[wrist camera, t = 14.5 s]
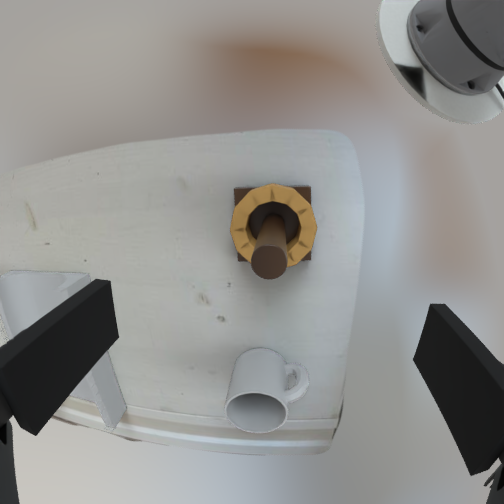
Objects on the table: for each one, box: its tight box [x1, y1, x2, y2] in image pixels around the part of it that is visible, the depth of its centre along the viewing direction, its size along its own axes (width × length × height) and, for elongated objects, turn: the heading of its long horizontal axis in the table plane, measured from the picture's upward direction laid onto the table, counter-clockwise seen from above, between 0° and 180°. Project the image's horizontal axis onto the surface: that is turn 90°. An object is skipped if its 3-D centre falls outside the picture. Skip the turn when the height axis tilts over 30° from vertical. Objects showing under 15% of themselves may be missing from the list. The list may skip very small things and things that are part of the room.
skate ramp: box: [0, 270, 127, 433], centre depth 37 cm, size 25×23×10 cm
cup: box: [224, 348, 309, 433], centre depth 35 cm, size 7×10×9 cm
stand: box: [234, 186, 311, 279], centre depth 27 cm, size 8×8×14 cm
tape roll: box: [230, 183, 317, 267], centre depth 31 cm, size 8×8×3 cm
